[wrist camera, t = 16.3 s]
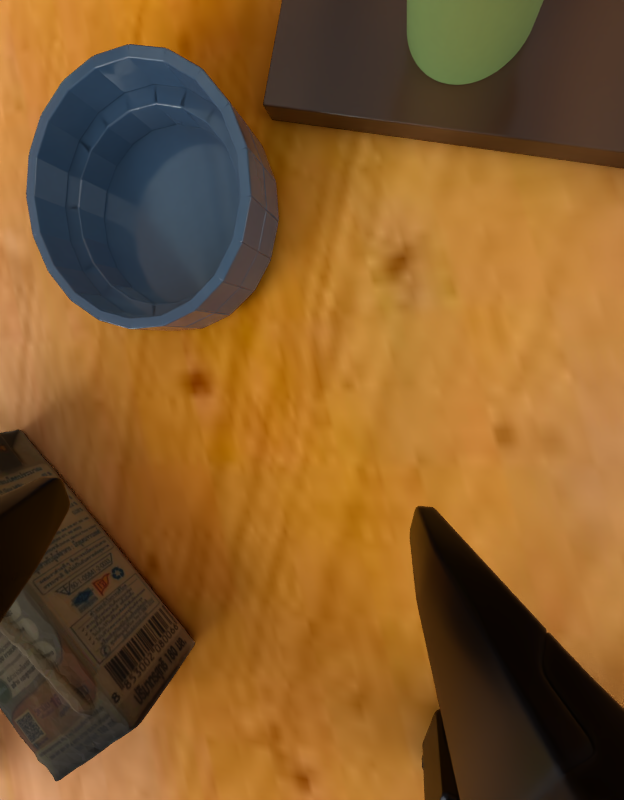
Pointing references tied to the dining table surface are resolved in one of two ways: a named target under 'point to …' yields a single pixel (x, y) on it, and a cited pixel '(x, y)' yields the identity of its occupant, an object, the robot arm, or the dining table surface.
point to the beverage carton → (80, 635)
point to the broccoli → (467, 36)
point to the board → (455, 104)
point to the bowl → (150, 193)
